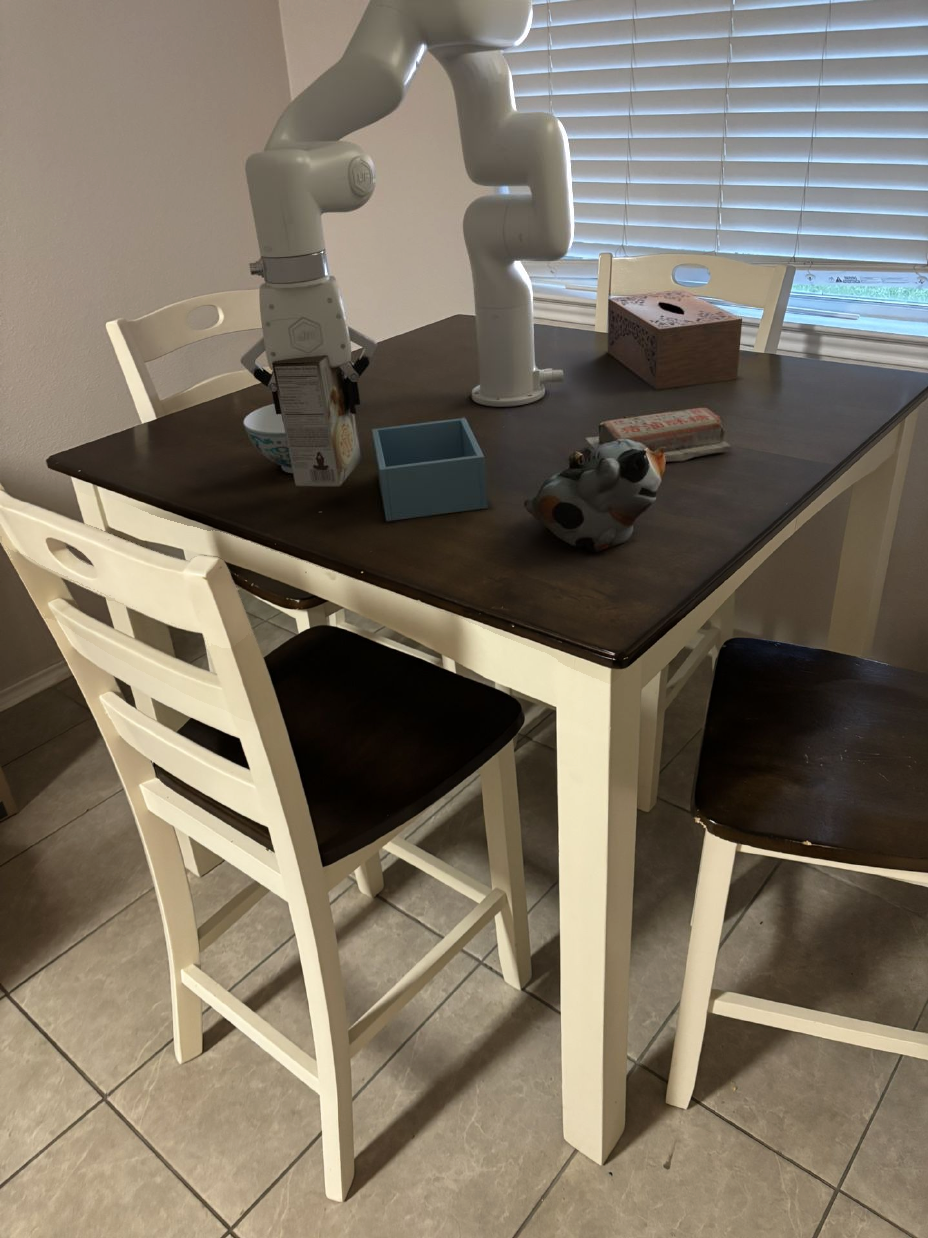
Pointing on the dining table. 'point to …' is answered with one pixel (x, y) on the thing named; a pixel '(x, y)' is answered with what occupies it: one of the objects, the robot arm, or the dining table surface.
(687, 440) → the packaged product
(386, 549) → the dining table surface
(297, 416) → the coffee box
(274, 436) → the chinaware
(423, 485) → the bin
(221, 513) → the dining table surface
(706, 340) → the tissue box cover
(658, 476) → the lucky cat figurine
